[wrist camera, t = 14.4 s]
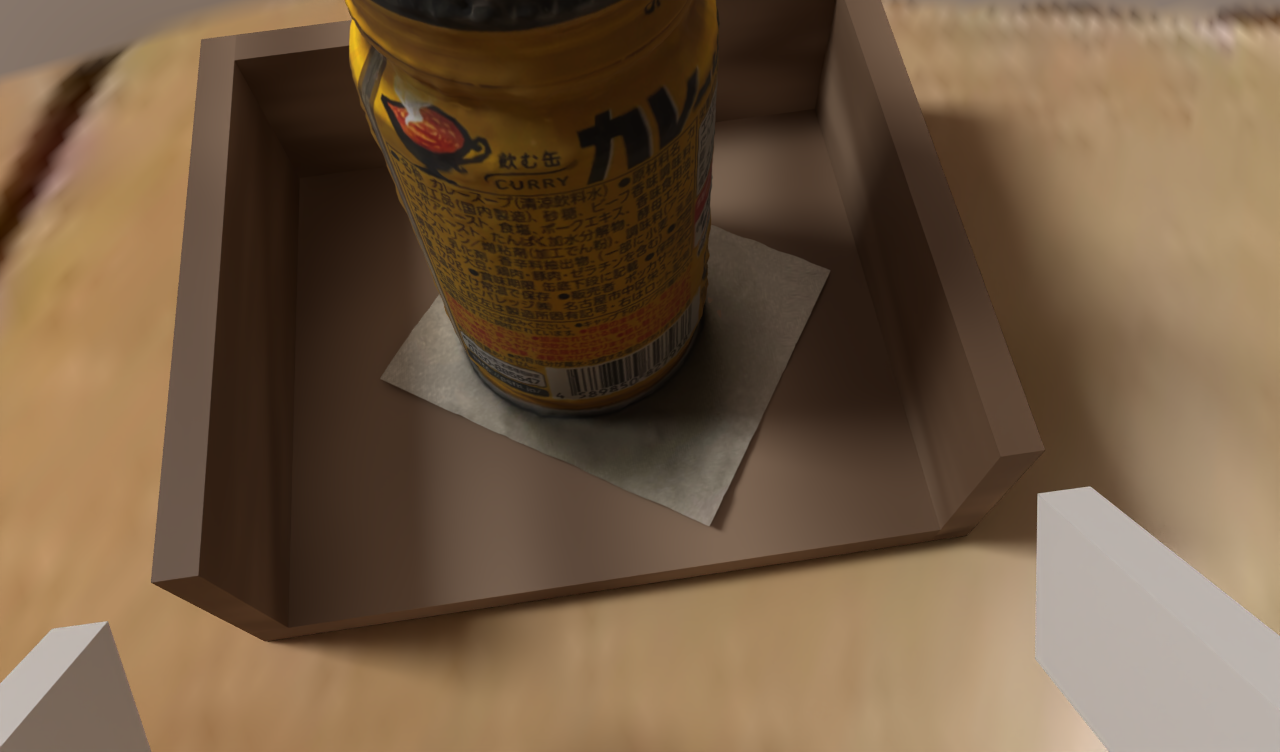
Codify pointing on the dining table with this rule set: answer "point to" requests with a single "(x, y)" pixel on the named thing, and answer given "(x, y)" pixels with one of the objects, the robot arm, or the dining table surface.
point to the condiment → (579, 234)
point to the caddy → (510, 471)
